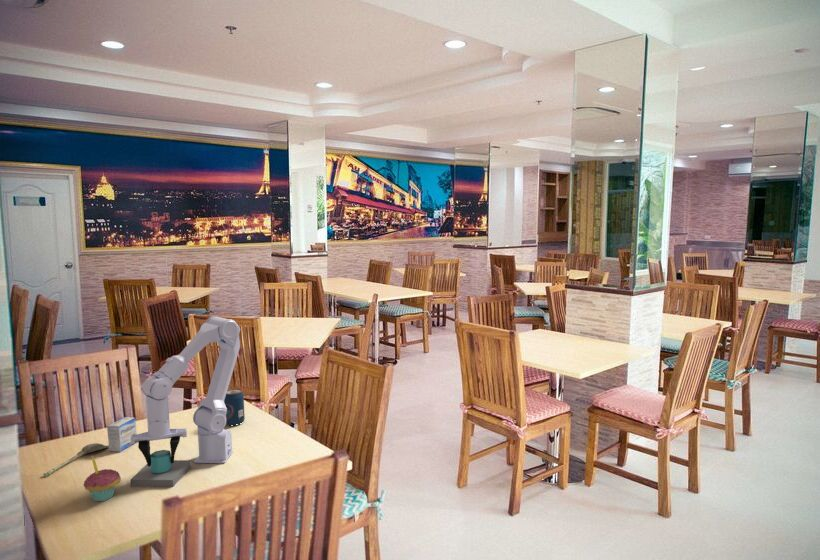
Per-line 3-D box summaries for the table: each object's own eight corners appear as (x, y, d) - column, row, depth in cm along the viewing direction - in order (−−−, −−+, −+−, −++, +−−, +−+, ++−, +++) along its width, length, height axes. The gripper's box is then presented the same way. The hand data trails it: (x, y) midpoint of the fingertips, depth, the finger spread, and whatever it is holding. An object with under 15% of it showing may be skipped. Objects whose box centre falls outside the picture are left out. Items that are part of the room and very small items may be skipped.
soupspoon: (112, 449, 178) (95, 448, 180) (111, 439, 178) (94, 438, 180) (54, 479, 157) (35, 477, 158) (53, 468, 157) (34, 466, 158)
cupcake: (83, 507, 141) (79, 463, 140) (87, 492, 149) (84, 450, 147) (120, 500, 145) (117, 457, 143) (123, 486, 152) (120, 445, 151)
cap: (170, 463, 161) (169, 448, 161) (172, 470, 157) (171, 455, 156) (150, 467, 159) (149, 452, 158) (152, 474, 154) (151, 459, 154)
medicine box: (120, 452, 174) (118, 426, 173) (108, 451, 175) (106, 425, 174) (137, 442, 181) (136, 417, 180) (126, 441, 182) (124, 416, 181)
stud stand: (191, 466, 164) (189, 447, 163) (173, 486, 152) (172, 466, 151) (151, 466, 164) (150, 447, 163) (130, 486, 152) (129, 466, 151)
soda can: (220, 424, 196) (219, 392, 195) (235, 418, 202) (234, 387, 201) (233, 428, 193) (232, 395, 191) (248, 421, 199) (247, 390, 197)
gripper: (186, 410, 162) (188, 453, 164) (132, 416, 157) (135, 461, 159) (185, 418, 155) (187, 463, 157) (128, 425, 150) (131, 472, 152)
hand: (161, 463), depth 157 cm, fingers closed on cap, 5 cm apart
